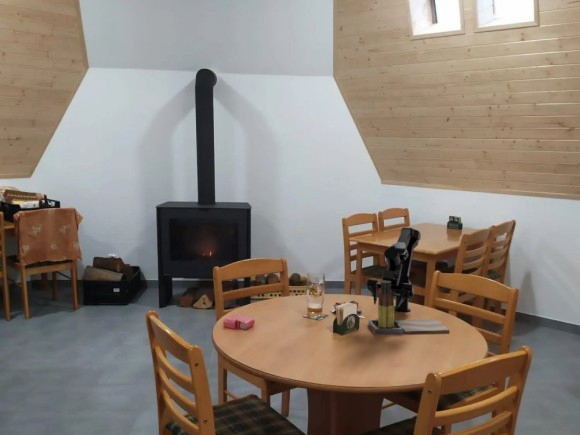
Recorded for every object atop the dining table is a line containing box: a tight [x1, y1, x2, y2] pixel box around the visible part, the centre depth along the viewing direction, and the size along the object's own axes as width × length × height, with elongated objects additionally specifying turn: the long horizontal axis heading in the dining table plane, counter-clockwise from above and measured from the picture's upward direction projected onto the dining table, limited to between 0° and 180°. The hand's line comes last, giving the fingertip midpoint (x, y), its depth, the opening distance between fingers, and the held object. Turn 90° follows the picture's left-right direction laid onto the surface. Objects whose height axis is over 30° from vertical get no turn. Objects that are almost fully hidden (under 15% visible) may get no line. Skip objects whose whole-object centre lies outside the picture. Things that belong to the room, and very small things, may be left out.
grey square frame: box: [368, 318, 404, 335], centre depth 205 cm, size 11×11×2 cm
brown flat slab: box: [395, 318, 450, 335], centre depth 207 cm, size 13×18×1 cm
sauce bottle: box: [377, 279, 395, 329], centre depth 204 cm, size 7×6×20 cm
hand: (385, 305), depth 203 cm, fingers open, 9 cm apart
